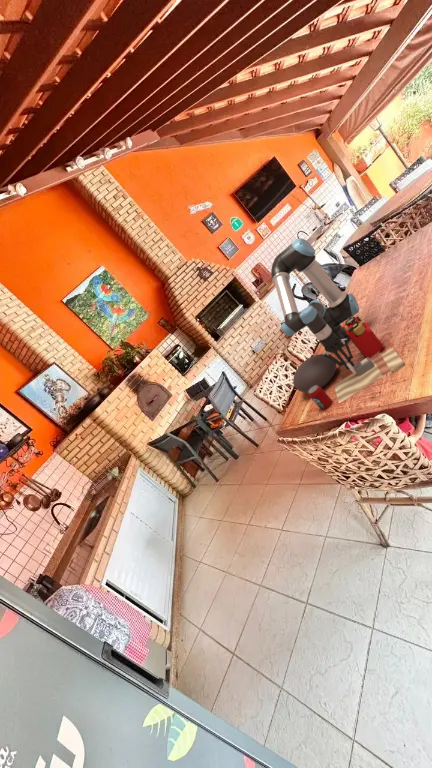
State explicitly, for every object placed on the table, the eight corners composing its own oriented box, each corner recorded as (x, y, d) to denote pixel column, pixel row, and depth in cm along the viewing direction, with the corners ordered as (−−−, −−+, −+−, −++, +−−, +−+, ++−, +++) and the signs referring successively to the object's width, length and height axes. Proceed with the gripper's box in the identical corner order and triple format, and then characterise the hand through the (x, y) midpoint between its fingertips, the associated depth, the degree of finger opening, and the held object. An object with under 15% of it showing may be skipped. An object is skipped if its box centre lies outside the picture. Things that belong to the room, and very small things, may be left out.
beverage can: (320, 409, 186) (305, 391, 183) (331, 400, 185) (315, 382, 182) (325, 413, 179) (309, 395, 176) (336, 404, 178) (320, 386, 175)
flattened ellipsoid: (339, 388, 188) (320, 366, 184) (299, 405, 205) (281, 386, 201) (346, 360, 205) (329, 340, 202) (308, 378, 222) (292, 360, 219)
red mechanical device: (386, 349, 183) (362, 318, 179) (367, 362, 187) (343, 332, 182) (378, 339, 197) (355, 310, 193) (361, 351, 201) (338, 322, 197)
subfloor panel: (335, 387, 191) (334, 385, 191) (394, 349, 178) (392, 347, 178) (340, 405, 175) (338, 403, 175) (405, 364, 162) (403, 362, 162)
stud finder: (357, 371, 185) (352, 365, 184) (372, 362, 181) (367, 355, 180) (359, 376, 180) (354, 369, 179) (374, 366, 177) (369, 360, 176)
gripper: (314, 346, 176) (344, 383, 182) (338, 329, 171) (369, 367, 176) (313, 341, 183) (342, 376, 188) (336, 324, 177) (365, 361, 183)
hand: (355, 372), depth 182 cm, fingers closed
